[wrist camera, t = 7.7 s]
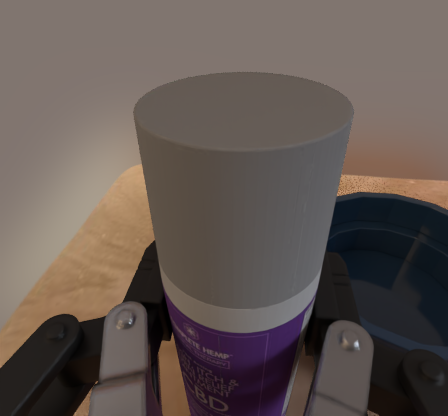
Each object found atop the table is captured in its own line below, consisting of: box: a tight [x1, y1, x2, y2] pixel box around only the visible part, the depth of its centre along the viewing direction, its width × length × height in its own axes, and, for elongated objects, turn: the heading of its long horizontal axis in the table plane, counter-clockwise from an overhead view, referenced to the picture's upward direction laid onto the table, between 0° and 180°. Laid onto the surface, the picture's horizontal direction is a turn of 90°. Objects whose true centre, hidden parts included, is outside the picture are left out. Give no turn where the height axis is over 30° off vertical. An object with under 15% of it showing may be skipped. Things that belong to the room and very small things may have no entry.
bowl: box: [326, 192, 448, 363], centre depth 19 cm, size 12×12×5 cm
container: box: [133, 72, 354, 416], centre depth 11 cm, size 5×5×15 cm
